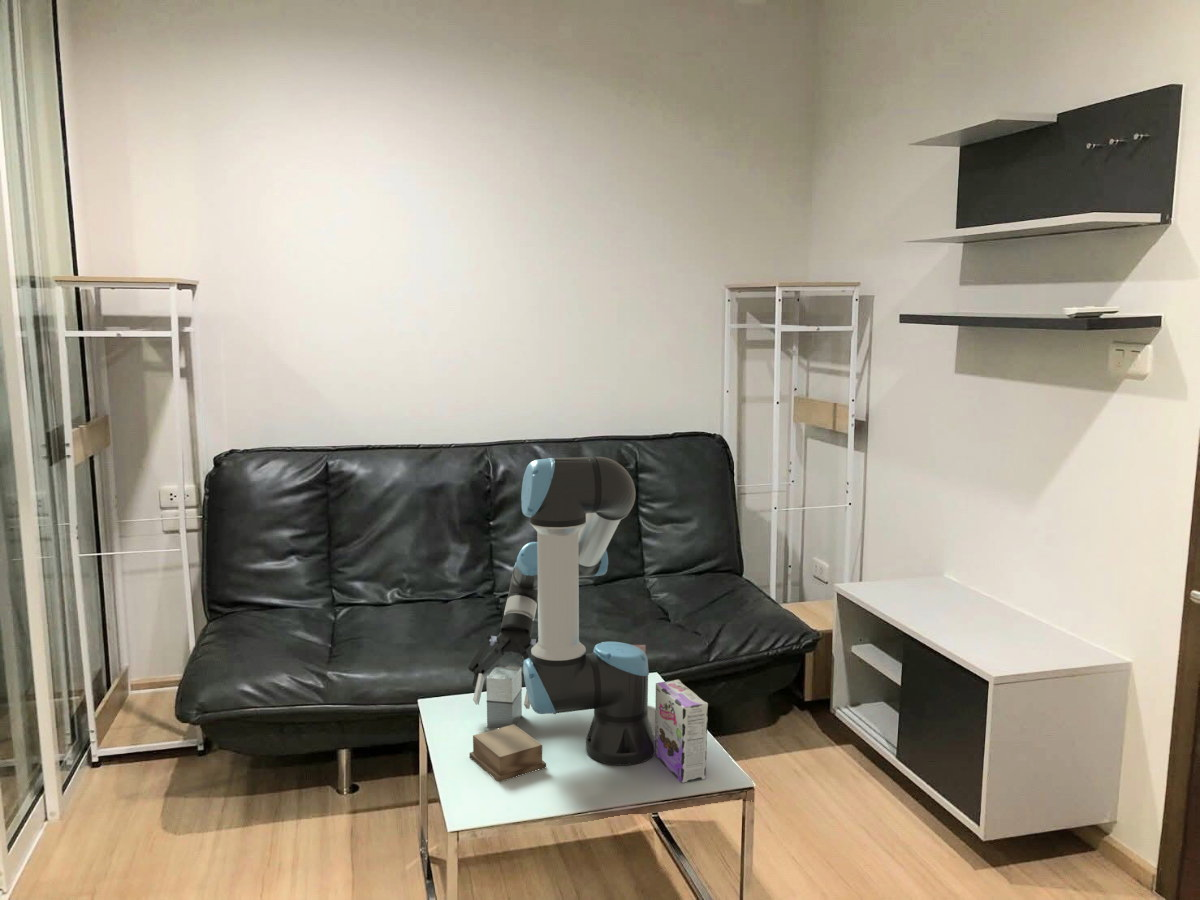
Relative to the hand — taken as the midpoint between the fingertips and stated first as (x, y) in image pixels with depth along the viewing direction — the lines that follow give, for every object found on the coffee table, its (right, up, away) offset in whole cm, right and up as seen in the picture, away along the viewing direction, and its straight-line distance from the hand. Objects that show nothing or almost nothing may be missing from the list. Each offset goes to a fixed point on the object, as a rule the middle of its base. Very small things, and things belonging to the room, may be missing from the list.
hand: (501, 704), depth 219 cm
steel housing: (+1, -5, +3) cm, 6 cm away
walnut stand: (+3, -8, -17) cm, 19 cm away
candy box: (+39, -8, -18) cm, 44 cm away
